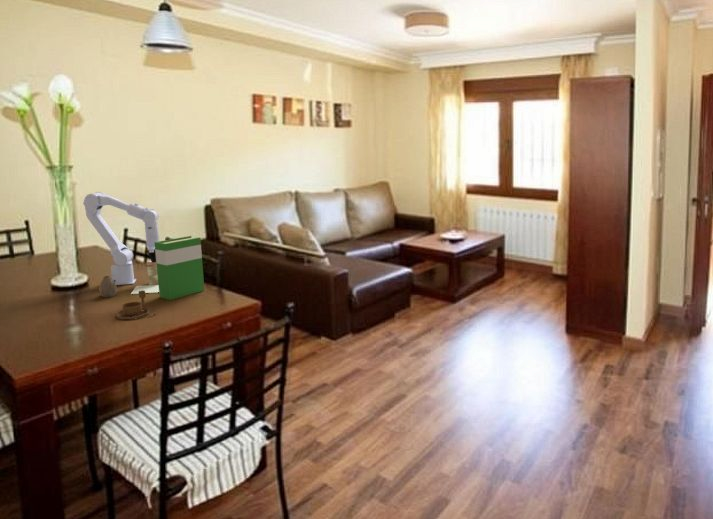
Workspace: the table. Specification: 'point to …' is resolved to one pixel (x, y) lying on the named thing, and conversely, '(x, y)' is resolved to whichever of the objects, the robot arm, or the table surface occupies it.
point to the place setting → (133, 308)
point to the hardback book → (179, 267)
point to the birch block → (152, 273)
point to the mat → (146, 289)
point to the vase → (107, 287)
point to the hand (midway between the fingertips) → (155, 264)
